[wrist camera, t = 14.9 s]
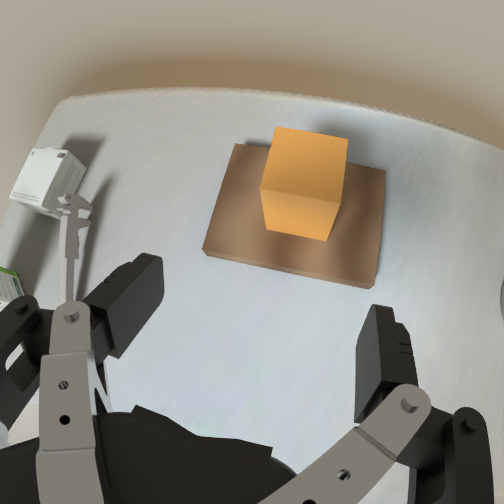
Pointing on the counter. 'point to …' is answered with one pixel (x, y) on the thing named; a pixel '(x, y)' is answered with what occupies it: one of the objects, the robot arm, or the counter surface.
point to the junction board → (292, 246)
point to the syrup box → (9, 287)
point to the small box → (47, 180)
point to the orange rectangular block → (303, 182)
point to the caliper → (70, 241)
